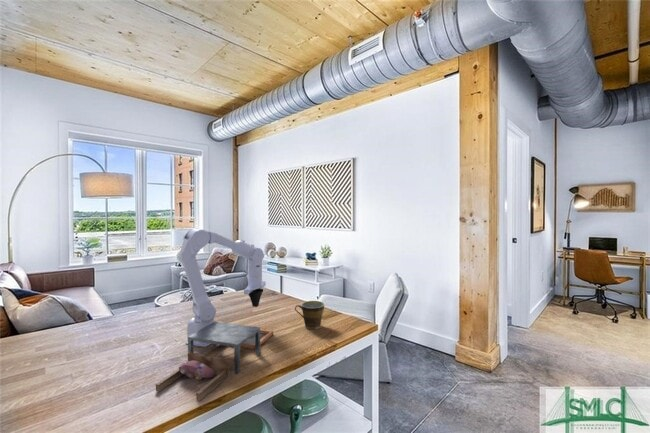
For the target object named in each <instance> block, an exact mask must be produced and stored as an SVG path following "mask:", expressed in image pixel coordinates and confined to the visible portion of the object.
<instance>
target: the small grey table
mask: <svg viewBox="0 0 650 433" xmlns="http://www.w3.org/2000/svg"><path fill="white" fill-rule="evenodd" d="M260 329H261V327H260V326H259V327H258V326H254V325H253V326H251V325H245V324H236V323H229V322H223V321H215V320H214V322H213V323H211V324H209V325H208V326H206V327H204V328H202V329H201V330H199V331H197V332H195V333H193V334H192V335H190V336H188V341H187V342H188V344H187V354H188V353H189V352H193V353H195V352H194V346H195V345H194V344H193V341H199V342H206V343H212V346H213V347H212V348H213V349H214V348H216V347H217V346H218V345H224V346H230V347H232V348H233V355H234V359H233V360H234V364H233V365H234V374H236V375H239V373H241V360H240V359H241V355H240V354H241V347H240V345H242V344H243V343H244V342H245V341H247V340H248V339H249V338H251V337H252V336H253V335H254V334H255V350H254V351H255V356H259V355H260V354H261V346H260Z"/></svg>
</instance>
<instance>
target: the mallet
mask: <svg viewBox="0 0 650 433" xmlns="http://www.w3.org/2000/svg"><path fill="white" fill-rule="evenodd" d="M254 337H255V334H254V335H253V336H252V337H251V338H254ZM229 347H231V346H224V345H218V346H217V347H216V348H213V349H211V350H210V351H208V352H207V353H206V354H203V353H199V352H198V353H197V352H194V353H193V352H189V353H188V352H187V361H193V360H195V361H198V362H199V363H202V364H204V365H207V366H208V367H209V368H212V369H214V371H215V373H214V375H216V376H214V378H213V379H212V380H210V381H209V382H208V383H207V384H205V386H203V387H202V388H201V389H200V390H199V391H197V392H196V396H195V397H196V401H198V402H201V400H203V399H204V398H205V397H206V396H207V395H209V393H211V392H212V391H213V390H214V389H215V388H216V387H218V386H219V385H220V384H221V383H222V382H223V381H224V380H225V379H226V378H227V377H229V376H230V373H231V372H230V370H231V369H230V358H225V357H220V356H219V355H220V354H222V353H223V352H224V351H225V350H227V349H229ZM183 375H184V374H182V373H181V372H180V370H179V368H178V369H176V370H174V371H173V372H172V373H170V374H169V375H167V376H166V377H164V378H162V379H161V380H159V381H158V382H157V383H155V392H160V391H162V390H163V389H165V387H167V386H169V385H170V384H172V383H174V381H176V380H177V379H179V378H180V377H181V376H183Z"/></svg>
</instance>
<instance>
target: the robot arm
mask: <svg viewBox="0 0 650 433" xmlns="http://www.w3.org/2000/svg"><path fill="white" fill-rule="evenodd" d="M208 244H210V245H211V244H217V245H220V246H223V247H225V248H227V249H230V250H231V252H232V253H233V254H234V255H237V256H240V257H243V258H246V259H247V260H248V264H247V265H248V266H247V267H248V268H247V270H248V278H247V280H248V285H247V287H245V288H244V290H243V294H244V295H248V297H249V298H250V302H251V305H252V307H254V308H258V307H259V305H260V300H261V298H262V294H263V293H264V289H263V288H265V287H266V281H263V260H264V258H265V256H266V254H265V253H264V251H263V249H262V248H260V247H255V245H254V244H249V243H247V242H245V240H243V239H238V240H232V239H229V238H227V237H225V236H223V235H221V234H220V233H219V234H218V233H216V232H212V231H208V230H204V229H199V228H197V227H196V228H194V227H193V228H190V229H189V230H188V231H187V232H186V233H185V234H184V235H183V242H182V245H181V248H180V252H179V257H180V260H181V262H182V267H183V269H184V273H185V276H186V279H187V280H186V281H187V282H188V287H189V288H190V292H191V296H192V299H191V300H192V312H193V314H194V317H192V318H191V319H189V321H188V323H187V327H186V328H187V330H186V331H187V333H186V334H187V335H186V336H187V340H186V342H185V344H186V345H188V336H190V335H192V334H193V333H195V332H197V331H199V330H201V329H202V328H204V327H206V326H208V325H209V324H211V323H213V322H215V316H216V314H217V310H216V307H215V306H214V305H213V303H212V302H211V299H210V297H209V295H208V294H207V291H206V288H205V287H206V286H205V283H204V281H203V277H202V273H201V270H200V267H199V263H198V260H197V255H198V253H199V252H200V251H201V250H202V249H203V248H205V246H207V245H208ZM193 344H194V346H197V347H205V348H206V347H207V348H208V347H209V346H210V345H211V344H212V343H206V342H199V341H193ZM212 345H213V344H212Z"/></svg>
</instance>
